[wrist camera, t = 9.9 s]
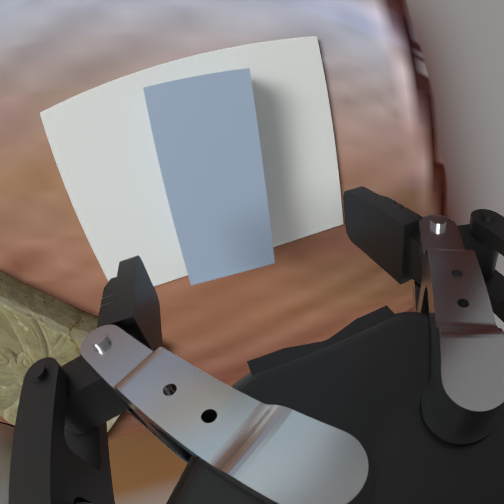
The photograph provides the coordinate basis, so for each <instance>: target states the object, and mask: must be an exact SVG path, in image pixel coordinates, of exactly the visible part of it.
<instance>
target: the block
mask: <svg viewBox="0 0 504 504" xmlns="http://www.w3.org/2000/svg"><path fill="white" fill-rule="evenodd" d="M143 89H144V95H145V100H146V105H147V110H148V115H149V120H150V125H151V129H152V134H153V139H154V143H155V148H156V152H157V157H158V161H159V165H160V170H161V174H162V178H163V182H164V187H165V191H166V195H167V199H168V203H169V207H170V211H171V214H172V218H173V222H174V226H175V230H176V233H177V237H178V241H179V244H180V248H181V252H182V255H183V259H184V262H185V266H186V269H187V273H188V276H189V280H190V283H191V285H194V284H198V283H202V282H206V281H210V280H214V279H217V278H221V277H225V276H229V275H233V274H236V273H240V272H244V271H248V270H252V269H255V268H259V267H263V266H267V265H270V264H274V263H275V260H274V251H273V242H272V234H271V226H270V217H269V209H268V201H267V193H266V185H265V177H264V170H263V162H262V154H261V147H260V139H259V132H258V124H257V117H256V110H255V103H254V96H253V89H252V82H251V75H250V68H245V69H238V70H230V71H223V72H217V73H211V74H205V75H199V76H194V77H189V78H184V79H179V80H174V81H169V82H165V83H160V84H156V85H152V86H148V87H144V88H143Z"/></svg>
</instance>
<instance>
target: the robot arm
mask: <svg viewBox="0 0 504 504" xmlns="http://www.w3.org/2000/svg"><path fill="white" fill-rule="evenodd" d="M343 198H344V211H345V224H346V231H347V234H348V237H349V238H350V240H351V241H352V242H353V243H354V244H355V245H356V246H357V247H359V248H360V249H361V250H362V251H363V252H364V253H366V254H367V255H368V256H369V257H370V258H371V259H373V260H374V261H375V262H376V263H377V264H378V265H379V266H381V267H382V268H383V269H384V270H385V271H386V272H387V273H388V274H390V275H391V276H392V277H393V278H394V279H395V280H396V281H397V282H398V283H400V284H403V283H405V282H407V281H409V280H411V279H413V280H414V285H413V300H414V312H404V313H397V314H394V313H393V312H392V311H391V310H390V309H389V308H388V306H387V305H386V306H384V307H382V308H380V309H378V310H376V311H373V312H371V313H369V314H367V315H365V316H362V317H360V318H358V319H356V320H354V321H353V322H352V323H350V324H349V325H348V326H346V327H345V328H344V329H342V330H341V331H339V332H338V333H337V334H335V335H334V336H332V337H331V338H329V339H328V340H325V341H322V342H317V343H311V344H306V345H300V346H295V347H289V348H284V349H281V350H278V351H276V352H273V353H270V354H267V355H265V356H262V357H259V358H256V359H253V360H250V361H247V363H248V365H249V368H250V371H251V373H249V374H248V375H246V376H244V377H243V378H242V379H240V380H239V381H238V382H236V383H235V384H234V385H233V386H232V387H231V386H229V385H227V384H225V383H223V382H221V381H219V380H218V379H216V378H214V377H212V376H210V375H209V374H207V373H205V372H203V371H202V370H200V369H198V368H196V367H195V366H193V365H191V364H190V363H188V362H186V361H185V360H183V359H181V358H180V357H178V356H176V355H175V354H173V353H171V352H170V351H168V350H166V349H165V348H163V345H162V332H161V319H160V305H159V300H158V297H157V294H156V291H155V289H154V286H153V284H152V282H151V280H150V278H149V275H148V273H147V271H146V268H145V266H144V264H143V262H142V260H141V258H140V256H139V255H137V256H135V257H132V258H129V259H126V260H123V261H120V262H119V267H118V272H117V277H114V278H111V279H110V280H109V282H108V283H107V285H106V286H105V288H104V291H103V296H102V298H103V299H102V301H101V307H100V312H99V317H98V323H97V328H96V329H95V330H93V331H92V332H90V333H89V334H88V335H87V336H86V337H85V339H84V340H83V342H82V344H81V348H80V352H81V355H80V356H79V357H77V358H75V359H73V360H72V361H70V362H68V363H66V364H64V365H63V366H61V365H60V364H59V363H58V362H57V360H56V359H54V358H52V357H45V358H42V359H40V360H38V361H37V362H35V363H34V364H33V365H32V366H31V367H30V368H29V369H28V371H27V372H26V374H25V376H24V380H23V384H22V389H21V394H20V399H19V404H18V410H17V416H16V422H15V427H12V426H9V425H6V424H2V423H0V504H115V501H114V494H113V487H112V479H111V470H110V461H109V450H108V436H107V421H109V420H111V419H112V418H114V417H116V416H118V415H120V414H122V413H123V412H125V411H128V412H129V413H130V414H131V415H132V416H133V417H134V418H135V419H136V420H138V421H139V422H140V423H141V424H142V425H143V426H144V427H145V428H146V429H148V430H149V431H150V432H151V433H152V434H153V435H155V436H156V437H157V438H158V439H159V440H160V441H162V442H163V443H164V444H165V445H166V446H167V447H168V448H170V449H171V450H172V451H173V452H174V453H175V454H176V455H178V456H179V457H180V458H181V459H183V460H184V461H185V462H186V463H188V464H187V466H186V468H185V470H184V472H183V474H182V475H181V477H180V479H179V481H178V483H177V485H176V487H175V488H174V490H173V492H172V494H171V496H170V498H169V500H168V502H167V503H166V504H504V331H503V330H502V329H500V328H498V327H497V325H496V322H495V318H494V314H493V312H494V313H495V314H496V315H497V316H498V317H499V318H500V319H501V320H502V321H503V322H504V276H503V275H502V274H500V273H499V272H498V271H497V270H495V266H496V262H497V257H498V254H499V253H500V254H502V255H503V256H504V217H503V216H501V215H499V214H498V213H496V212H494V211H491V210H486V209H478V210H475V211H473V212H472V213H471V218H470V224H467V225H461V226H457V225H456V223H455V222H454V221H453V220H451V219H450V218H447V217H444V216H440V215H429V216H425V217H421V216H420V215H418V214H416V213H415V212H413V211H411V210H409V209H408V208H406V207H404V206H403V205H401V204H399V203H397V202H395V201H394V200H392V199H390V198H388V197H384V196H381V195H378V194H376V193H374V192H372V191H371V190H369V189H367V188H365V187H358V188H354V189H351V190H347V191H345V192H344V197H343Z"/></svg>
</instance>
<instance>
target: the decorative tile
mask: <svg viewBox="0 0 504 504" xmlns="http://www.w3.org/2000/svg"><path fill="white" fill-rule="evenodd" d="M97 323H98V317H96V316H93V315H91V314H88V313H86V312H82V311H81V310H78V309H76V308H74V307H72V306H70V305H68V304H66V303H63V302H62V301H60V300H58V299H56V298H54V297H52V296H50V295H47V294H45V293H43V292H41V291H39V290H37V289H35V288H33V287H30V286H28V285H26V284H24V283H22V282H20V281H19V280H17V279H15V278H13V277H11V276H9V275H7V274H5V273H4V272H2V271H0V416H2V417H4V418H5V419H6V420H7V421H8V422H10V423H11V424H13V425H15V422H16V416H17V410H18V404H19V399H20V394H21V389H22V384H23V380H24V376H25V374H26V372H27V371H28V369H29V368H30V367H31V366H32V365H33V364H34V363H35V362H37V361H38V360H40V359H42V358H45V357H52V358H54V359H56V360H57V362H58V363H59V364H60V365H61V366H63V365H64V364H66V363H68V362H70V361H72V360H73V359H75V358H77V357H79V356H80V355H81V352H80V348H81V344H82V342H83V340H84V339H85V337H86V336H87V335H88V334H89V333H90V332H92V331H93V330H95V329H96V328H97ZM119 416H120V415H118V416H116V417H114V418H112V419H111V420H109V421H107V432H108V431H109V430H110V429H111V427H112V426H113V424H114V423H115V421H116V420H117V419H118V417H119Z"/></svg>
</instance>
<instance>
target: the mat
mask: <svg viewBox="0 0 504 504" xmlns="http://www.w3.org/2000/svg"><path fill="white" fill-rule="evenodd" d="M245 68H250V75H251V82H252V89H253V96H254V103H255V110H256V117H257V124H258V132H259V139H260V147H261V154H262V162H263V170H264V177H265V185H266V193H267V201H268V209H269V217H270V226H271V234H272V242H273V247H275V246H279V245H282V244H285V243H288V242H291V241H294V240H297V239H300V238H303V237H306V236H309V235H312V234H315V233H318V232H321V231H324V230H327V229H330V228H333V227H336V226H339V225H342V224H343V214H342V202H341V191H340V181H339V172H338V163H337V155H336V147H335V139H334V132H333V125H332V118H331V111H330V105H329V99H328V93H327V87H326V81H325V75H324V70H323V65H322V59H321V54H320V49H319V45H318V40H317V36H312V37H300V38H290V39H281V40H273V41H266V42H259V43H253V44H247V45H241V46H236V47H230V48H225V49H220V50H216V51H211V52H206V53H202V54H198V55H194V56H190V57H186V58H182V59H178V60H175V61H171V62H168V63H164V64H161V65H157V66H154V67H151V68H148V69H145V70H141V71H138V72H135V73H132V74H130V75H127V76H124V77H121V78H118V79H116V80H113V81H110V82H108V83H105V84H103V85H100V86H97V87H95V88H93V89H90V90H88V91H85V92H83V93H81V94H78V95H76V96H74V97H72V98H69V99H67V100H65V101H63V102H61V103H59V104H57V105H55V106H52V107H50V108H48V109H46V110H44V111H42V112H41V113H40V115H41V118H42V122H43V125H44V128H45V131H46V134H47V137H48V140H49V143H50V146H51V149H52V152H53V155H54V158H55V161H56V163H57V166H58V169H59V172H60V174H61V177H62V179H63V182H64V185H65V187H66V190H67V192H68V195H69V197H70V200H71V202H72V204H73V207H74V209H75V211H76V214H77V216H78V218H79V221H80V223H81V225H82V227H83V230H84V232H85V234H86V236H87V238H88V241H89V243H90V245H91V247H92V249H93V251H94V253H95V255H96V257H97V259H98V261H99V263H100V265H101V267H102V269H103V271H104V273H105V275H106V277H107V279H108V281H109V280H110V279H111V278H114V277H117V272H118V267H119V262H120V261H123V260H126V259H129V258H132V257H135V256H137V255H139V256H140V258H141V260H142V262H143V264H144V266H145V268H146V271H147V273H148V275H149V278H150V280H151V282H152V284H153V286H157V285H160V284H163V283H166V282H169V281H172V280H175V279H178V278H181V277H184V276H187V275H188V273H187V269H186V266H185V262H184V259H183V255H182V252H181V248H180V244H179V241H178V237H177V233H176V230H175V226H174V222H173V218H172V214H171V211H170V207H169V203H168V199H167V195H166V191H165V187H164V182H163V178H162V174H161V170H160V165H159V161H158V157H157V152H156V148H155V143H154V139H153V134H152V129H151V125H150V120H149V115H148V110H147V105H146V100H145V95H144V89H143V88H144V87H148V86H152V85H156V84H160V83H165V82H169V81H174V80H179V79H184V78H189V77H194V76H199V75H205V74H211V73H217V72H223V71H230V70H238V69H245Z"/></svg>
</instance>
